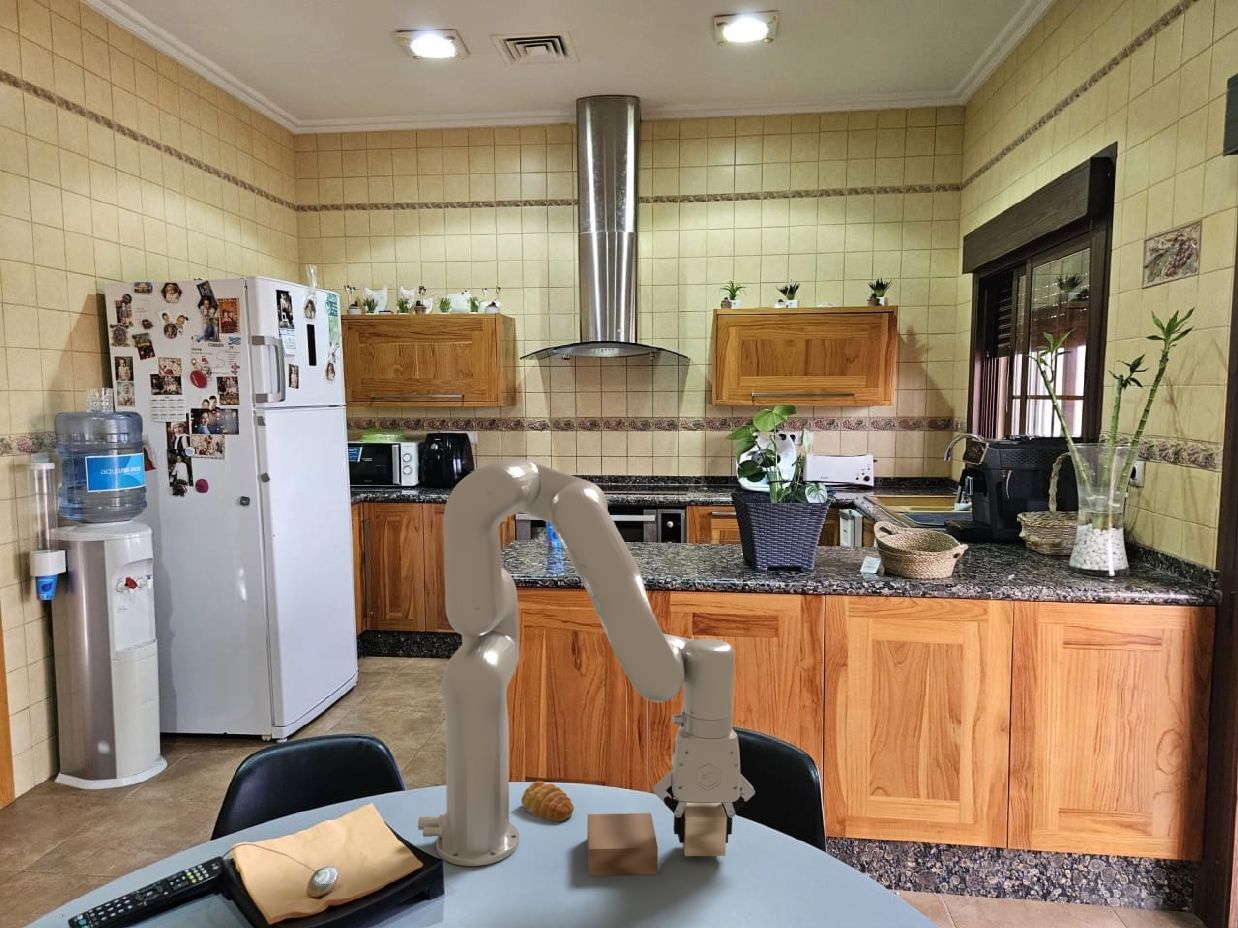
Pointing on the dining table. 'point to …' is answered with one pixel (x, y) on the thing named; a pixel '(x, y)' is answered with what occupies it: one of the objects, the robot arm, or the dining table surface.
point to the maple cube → (705, 829)
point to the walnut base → (621, 844)
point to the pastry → (547, 802)
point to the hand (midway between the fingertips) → (702, 836)
